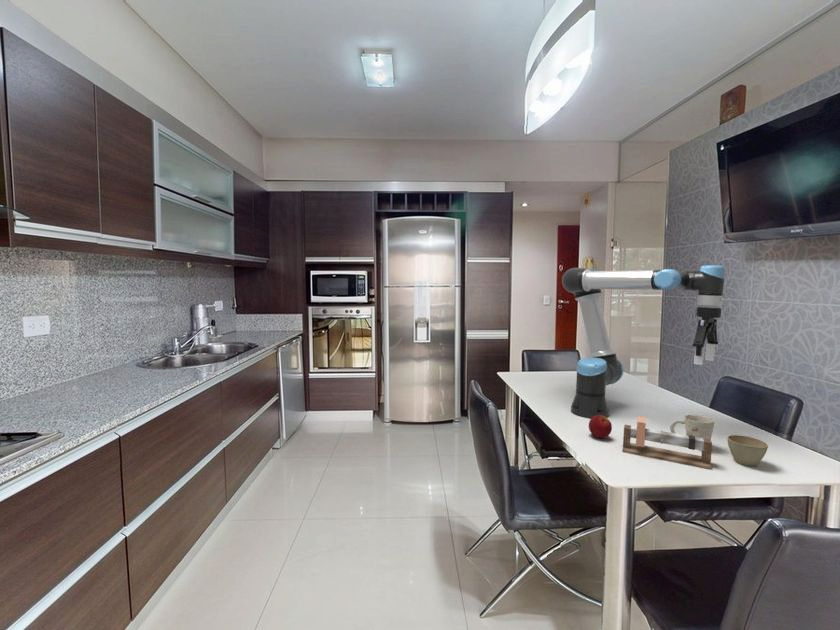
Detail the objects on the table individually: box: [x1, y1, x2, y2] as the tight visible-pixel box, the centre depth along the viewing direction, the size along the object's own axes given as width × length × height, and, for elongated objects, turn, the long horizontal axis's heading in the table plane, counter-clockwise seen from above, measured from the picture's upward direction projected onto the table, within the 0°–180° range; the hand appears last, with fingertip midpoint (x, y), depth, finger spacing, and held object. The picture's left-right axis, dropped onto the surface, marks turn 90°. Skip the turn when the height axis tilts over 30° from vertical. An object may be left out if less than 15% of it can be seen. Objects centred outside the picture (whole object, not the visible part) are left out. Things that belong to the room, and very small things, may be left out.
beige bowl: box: [726, 434, 769, 467], centre depth 125 cm, size 10×10×7 cm
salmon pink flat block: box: [635, 415, 647, 447], centre depth 133 cm, size 2×7×8 cm, turn 150°
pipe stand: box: [621, 424, 713, 470], centre depth 129 cm, size 24×8×8 cm, turn 60°
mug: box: [669, 414, 715, 440], centre depth 138 cm, size 8×13×10 cm, turn 58°
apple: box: [588, 415, 613, 439], centre depth 145 cm, size 8×8×8 cm
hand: (703, 362), depth 152 cm, fingers open, 13 cm apart
